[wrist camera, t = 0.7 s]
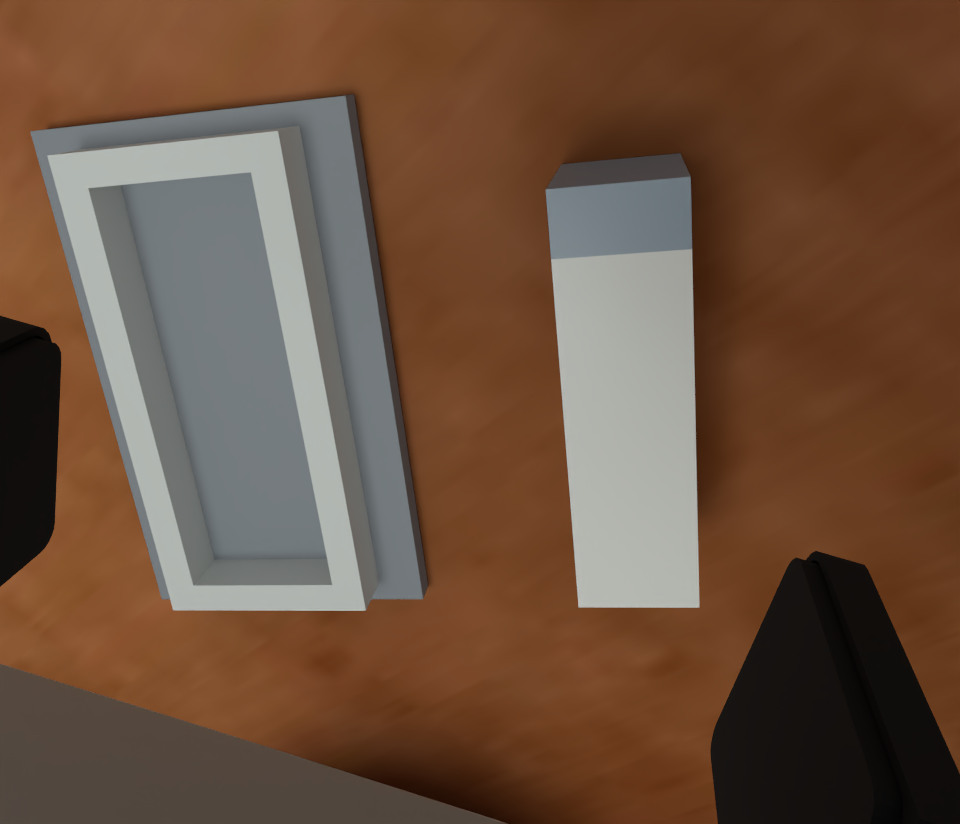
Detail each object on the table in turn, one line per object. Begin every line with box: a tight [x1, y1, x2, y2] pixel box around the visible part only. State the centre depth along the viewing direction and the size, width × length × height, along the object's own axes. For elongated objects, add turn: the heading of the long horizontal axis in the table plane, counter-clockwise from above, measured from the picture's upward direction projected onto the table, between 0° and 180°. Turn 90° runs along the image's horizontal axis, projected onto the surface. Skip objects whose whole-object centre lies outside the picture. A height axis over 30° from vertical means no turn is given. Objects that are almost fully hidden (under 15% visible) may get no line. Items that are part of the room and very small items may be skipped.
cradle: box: [31, 95, 428, 611], centre depth 34 cm, size 20×12×3 cm, turn 7°
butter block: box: [546, 153, 699, 608], centre depth 30 cm, size 14×4×6 cm, turn 7°
